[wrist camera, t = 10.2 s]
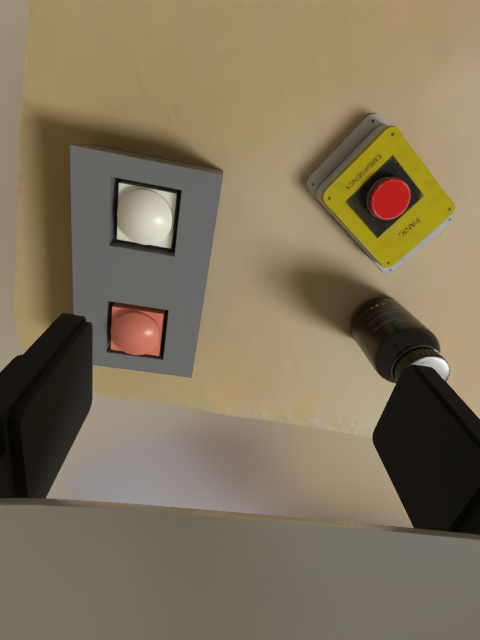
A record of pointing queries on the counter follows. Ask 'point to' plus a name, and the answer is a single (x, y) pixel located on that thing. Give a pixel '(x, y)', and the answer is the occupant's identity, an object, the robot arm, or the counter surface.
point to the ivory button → (147, 214)
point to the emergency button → (382, 194)
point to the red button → (137, 329)
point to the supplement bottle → (395, 339)
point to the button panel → (140, 253)
